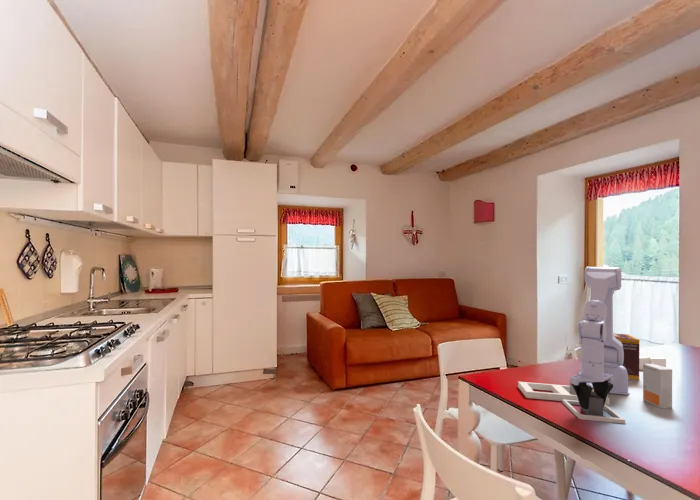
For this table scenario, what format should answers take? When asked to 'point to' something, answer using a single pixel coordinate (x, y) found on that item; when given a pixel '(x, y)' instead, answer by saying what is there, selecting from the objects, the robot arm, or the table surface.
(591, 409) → the plug
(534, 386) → the twin square frames
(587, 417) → the white square frame
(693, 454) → the table surface
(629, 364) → the supplement box
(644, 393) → the skincare box
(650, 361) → the napkin holder
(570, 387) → the twin plug
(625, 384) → the robot arm
